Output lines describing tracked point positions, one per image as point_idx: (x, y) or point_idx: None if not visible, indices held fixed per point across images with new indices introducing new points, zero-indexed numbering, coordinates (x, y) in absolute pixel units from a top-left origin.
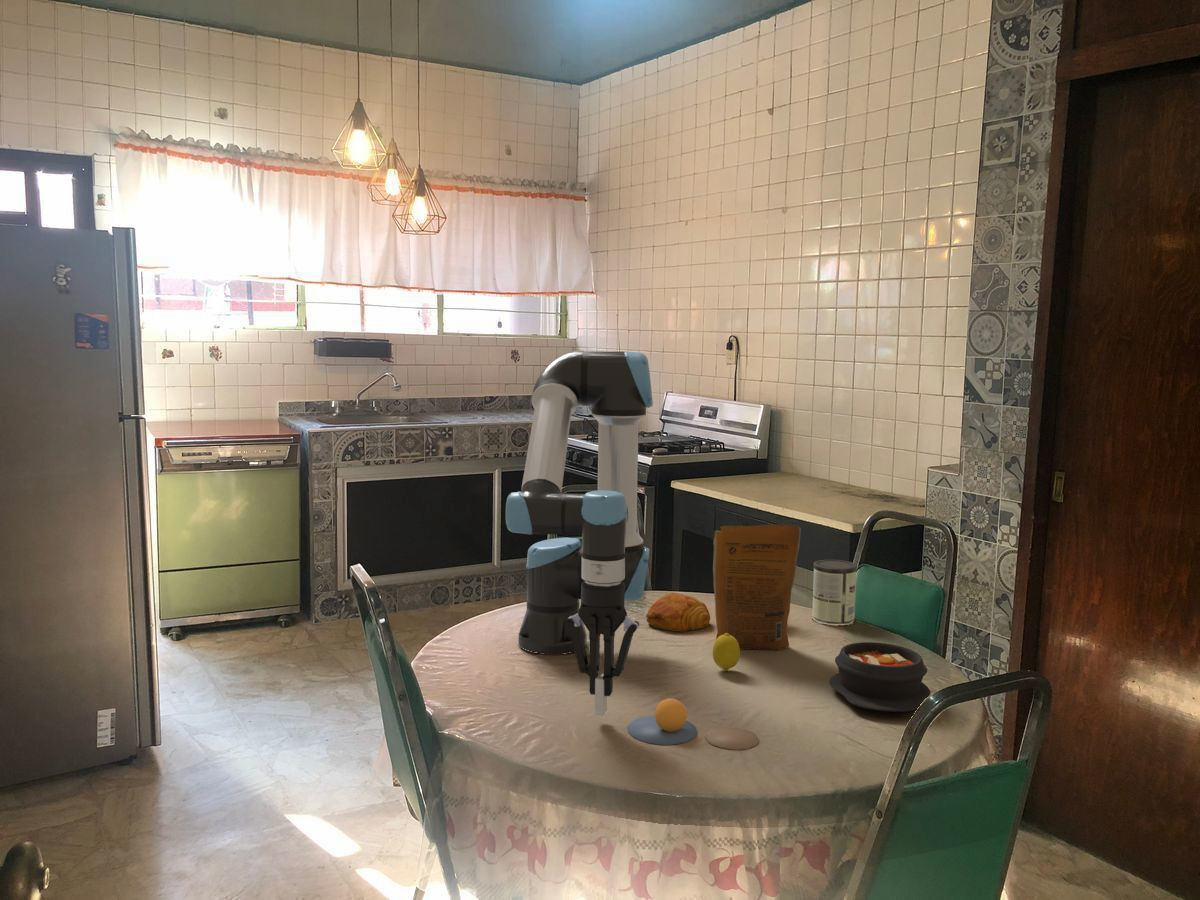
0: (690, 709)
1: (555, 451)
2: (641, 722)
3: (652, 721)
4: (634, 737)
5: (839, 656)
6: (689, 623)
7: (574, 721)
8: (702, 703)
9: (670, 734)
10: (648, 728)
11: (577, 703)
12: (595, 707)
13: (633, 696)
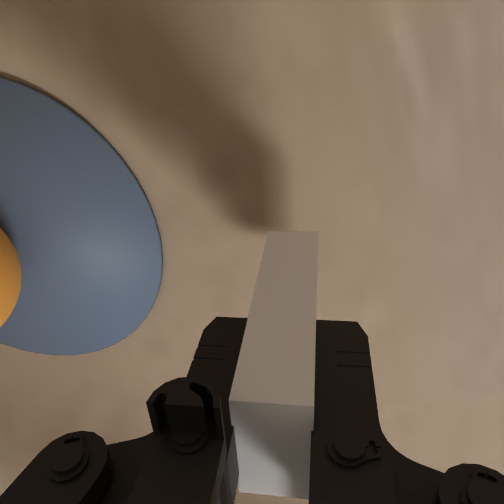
0: (25, 415)
1: None
2: (117, 278)
3: (82, 298)
4: (76, 115)
5: None
6: None
7: (435, 225)
8: (17, 455)
9: None
10: (62, 228)
11: (449, 401)
12: (312, 254)
13: None
